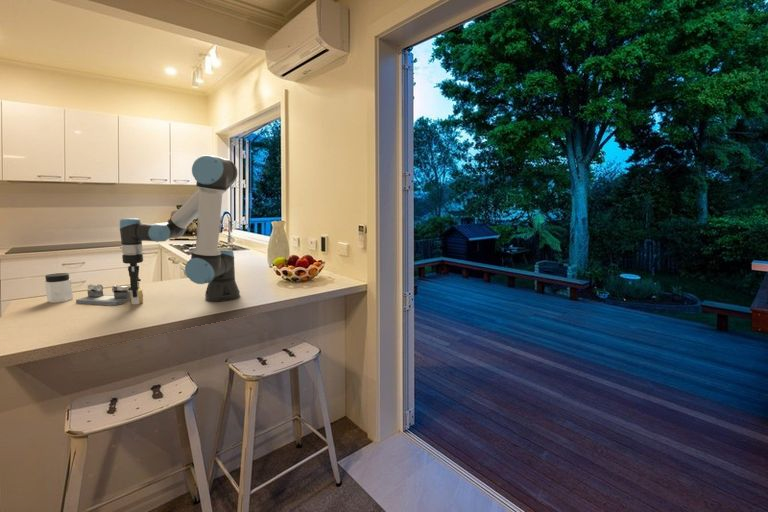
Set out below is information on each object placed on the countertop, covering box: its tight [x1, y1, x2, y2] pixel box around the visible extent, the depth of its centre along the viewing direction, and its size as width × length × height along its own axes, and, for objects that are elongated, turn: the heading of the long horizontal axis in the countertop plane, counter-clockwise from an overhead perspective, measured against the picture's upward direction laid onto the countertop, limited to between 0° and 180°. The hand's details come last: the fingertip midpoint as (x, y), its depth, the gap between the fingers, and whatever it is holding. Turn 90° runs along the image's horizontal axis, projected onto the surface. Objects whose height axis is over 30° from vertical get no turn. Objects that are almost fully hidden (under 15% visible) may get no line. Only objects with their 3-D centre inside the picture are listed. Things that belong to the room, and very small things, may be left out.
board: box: [75, 294, 131, 306], centre depth 169 cm, size 20×10×2 cm, turn 82°
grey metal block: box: [111, 285, 131, 299], centre depth 170 cm, size 6×4×6 cm, turn 97°
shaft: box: [87, 283, 104, 298], centre depth 172 cm, size 6×4×6 cm, turn 67°
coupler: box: [130, 288, 144, 306], centre depth 167 cm, size 5×5×6 cm
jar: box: [44, 272, 74, 304], centre depth 169 cm, size 9×8×12 cm
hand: (136, 300), depth 167 cm, fingers open, 13 cm apart
